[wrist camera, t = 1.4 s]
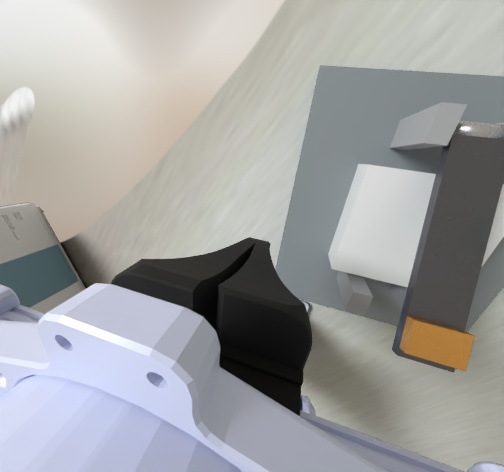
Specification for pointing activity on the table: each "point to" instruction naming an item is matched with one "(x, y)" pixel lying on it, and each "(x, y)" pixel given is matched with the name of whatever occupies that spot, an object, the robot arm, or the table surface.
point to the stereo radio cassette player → (34, 259)
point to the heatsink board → (366, 140)
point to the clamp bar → (452, 248)
